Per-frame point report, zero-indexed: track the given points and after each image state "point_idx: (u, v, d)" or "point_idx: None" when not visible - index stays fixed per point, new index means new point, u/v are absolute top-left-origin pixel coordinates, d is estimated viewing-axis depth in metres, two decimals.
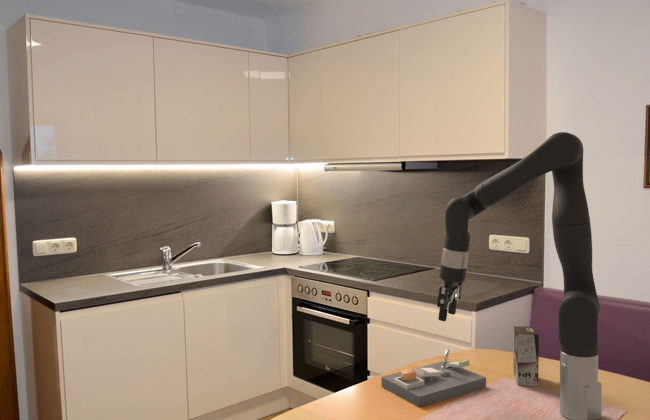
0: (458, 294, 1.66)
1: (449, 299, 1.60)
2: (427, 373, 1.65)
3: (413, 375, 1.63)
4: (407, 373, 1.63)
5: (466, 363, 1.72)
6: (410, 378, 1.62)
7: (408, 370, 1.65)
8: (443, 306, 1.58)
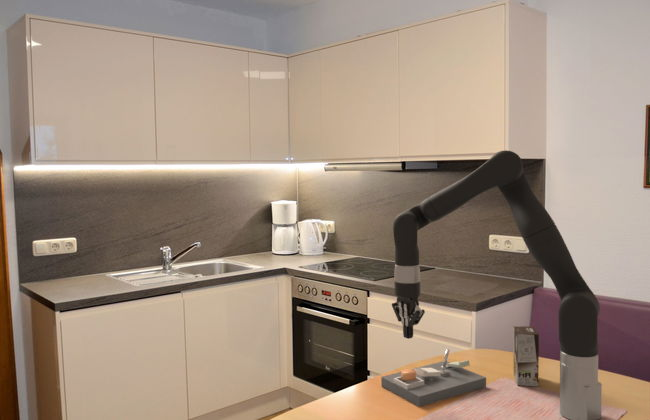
0: None
1: None
2: (427, 373, 1.65)
3: (413, 375, 1.63)
4: (407, 373, 1.63)
5: (466, 363, 1.72)
6: (410, 378, 1.62)
7: (408, 370, 1.65)
8: (416, 322, 1.61)
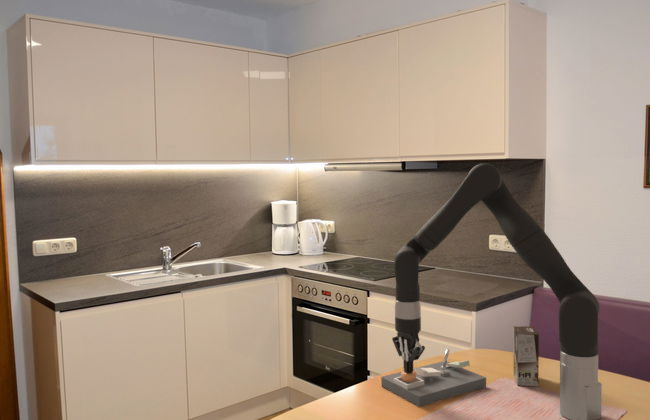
0: None
1: None
2: (427, 373, 1.65)
3: (413, 376, 1.63)
4: (407, 374, 1.63)
5: (466, 363, 1.72)
6: (410, 379, 1.62)
7: None
8: (416, 358, 1.62)
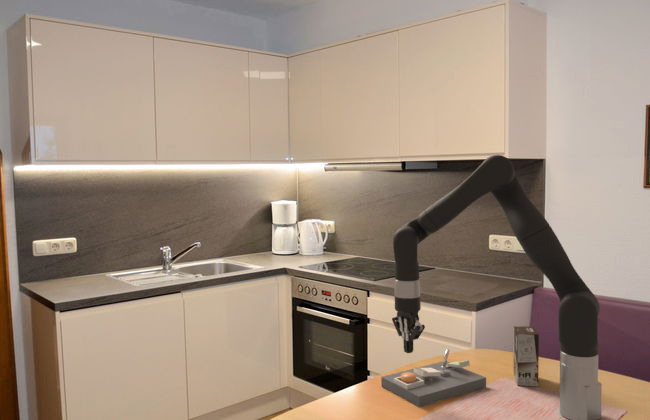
0: None
1: None
2: (427, 373, 1.65)
3: (413, 379, 1.63)
4: (407, 377, 1.63)
5: (466, 363, 1.72)
6: (410, 382, 1.62)
7: (408, 373, 1.65)
8: (416, 337, 1.61)
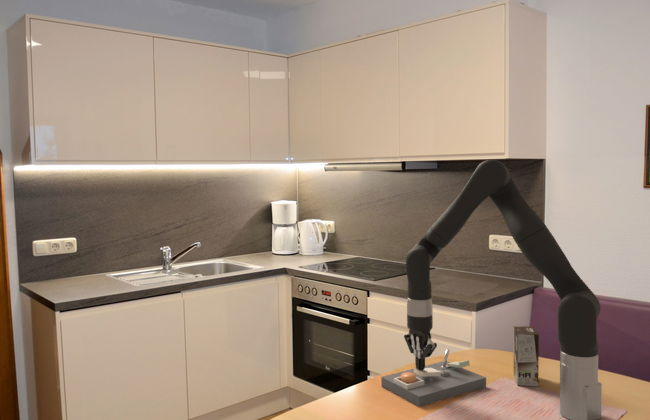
0: None
1: None
2: (427, 373, 1.65)
3: (413, 379, 1.63)
4: (407, 377, 1.63)
5: (466, 363, 1.72)
6: (410, 382, 1.62)
7: (408, 373, 1.65)
8: (428, 355, 1.64)
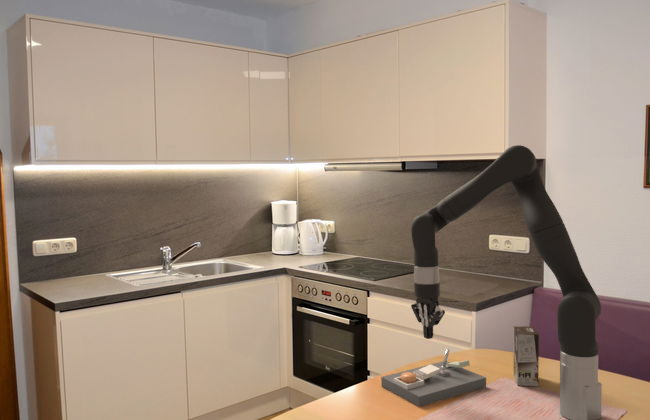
0: None
1: None
2: (426, 375, 1.65)
3: (413, 379, 1.63)
4: (407, 377, 1.63)
5: (466, 363, 1.72)
6: (410, 382, 1.62)
7: (408, 373, 1.65)
8: (436, 323, 1.63)
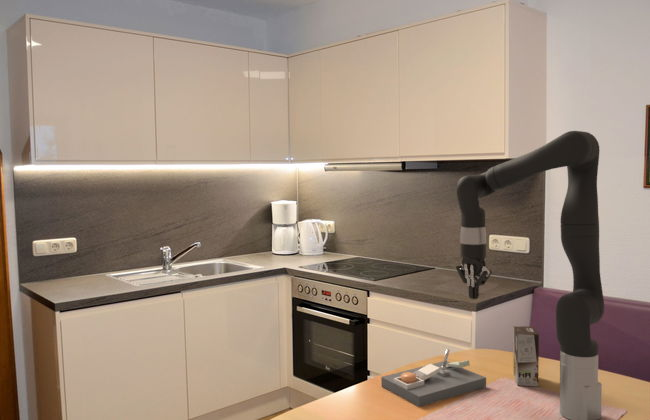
0: None
1: (480, 277, 1.67)
2: (426, 376, 1.65)
3: (413, 379, 1.63)
4: (407, 377, 1.63)
5: (466, 363, 1.72)
6: (410, 382, 1.62)
7: (408, 373, 1.65)
8: (482, 283, 1.65)
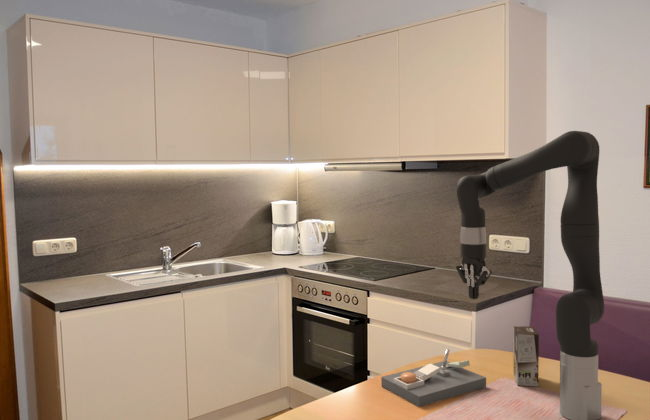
0: None
1: (480, 277, 1.67)
2: (426, 376, 1.65)
3: (413, 379, 1.63)
4: (407, 377, 1.63)
5: (466, 363, 1.72)
6: (410, 382, 1.62)
7: (408, 373, 1.65)
8: (482, 283, 1.65)
